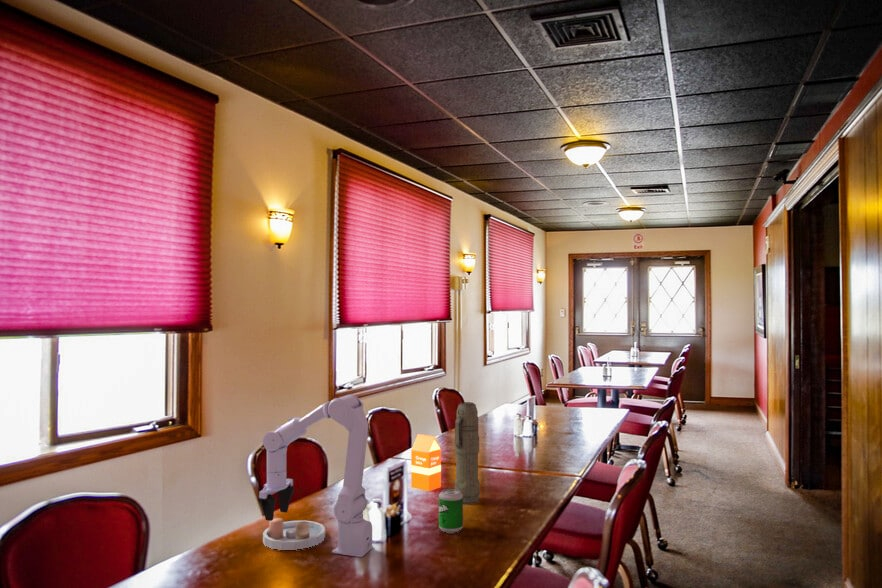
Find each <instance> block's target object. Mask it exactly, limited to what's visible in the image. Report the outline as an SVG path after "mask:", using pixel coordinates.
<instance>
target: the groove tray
mask: <svg viewBox="0 0 882 588" xmlns="http://www.w3.org/2000/svg"><path fill="white" fill-rule="evenodd" d="M302 521H306V522H309V523H310V538H307V539H302V540H296V523H298V522H302ZM324 538H325V539H326V527H325V526H324V525H323V524H322V523H320V522H317V521H311V520H305V519H304V520H290V521H283V537H282V538H280V539H272V538H270V537H269V527H267V528H266V529H264V531H263V533H262V543H263V545H264V546H265V547H266V546H267V547H266V548H268V547H269V548H268V549H270V548H271V549H270V550H273V549H278V550H277V551H280V550H296V551H298V550H297V549H302V550H304V549H303V548H308V549H310V548H309V547H311V548H313V547H316V546H318V545H319V543H320V544H321V543H323V542H324V540H325V539H324ZM322 541H323V542H322ZM315 545H316V546H315ZM312 546H313V547H312Z"/></svg>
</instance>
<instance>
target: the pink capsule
mask: <svg viewBox="0 0 882 588" xmlns="http://www.w3.org/2000/svg"><path fill="white" fill-rule="evenodd" d="M268 521H269V520H268ZM283 522H284V519H283V518H281V517H273V520H272V521H269V525H268V528H269V537H270V538H272V539H280V538H282V537H283Z"/></svg>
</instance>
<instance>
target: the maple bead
mask: <svg viewBox="0 0 882 588" xmlns="http://www.w3.org/2000/svg"><path fill="white" fill-rule="evenodd" d="M301 521H302V522H298V523H296V540H302V539H307V538H310V523H309V522H306V521H307V520H306V521H303V520H301Z"/></svg>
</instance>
